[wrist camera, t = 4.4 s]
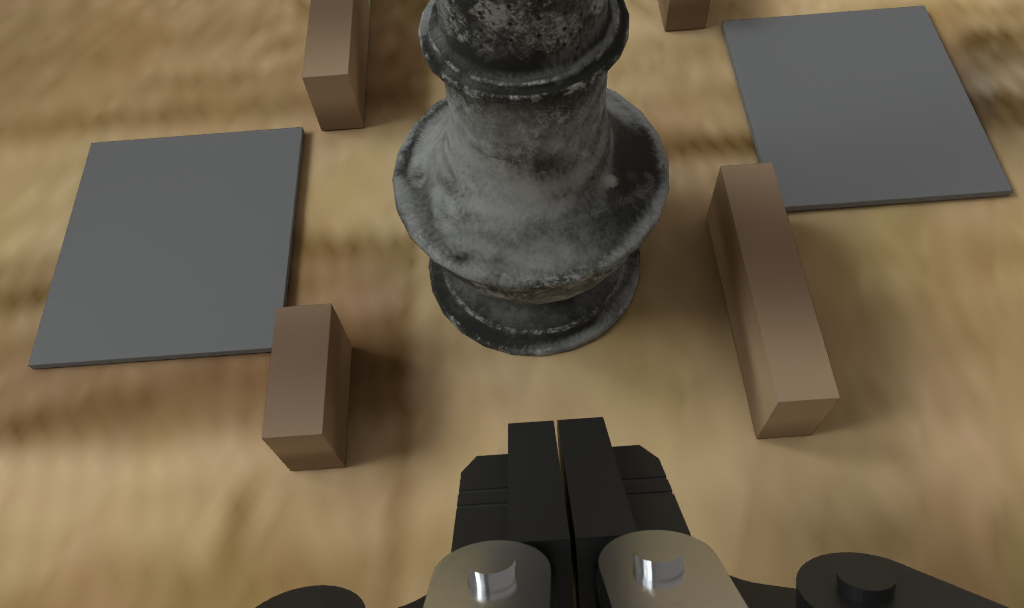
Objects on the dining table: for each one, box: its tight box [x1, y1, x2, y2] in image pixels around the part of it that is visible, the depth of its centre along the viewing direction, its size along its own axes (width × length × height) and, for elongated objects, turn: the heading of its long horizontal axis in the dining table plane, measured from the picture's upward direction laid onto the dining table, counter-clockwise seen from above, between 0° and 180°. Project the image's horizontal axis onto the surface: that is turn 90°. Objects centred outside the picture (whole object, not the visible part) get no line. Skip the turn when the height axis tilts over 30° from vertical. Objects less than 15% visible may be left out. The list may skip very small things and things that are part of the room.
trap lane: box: [262, 0, 840, 471], centre depth 22 cm, size 22×11×3 cm, turn 3°
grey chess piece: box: [393, 0, 669, 356], centre depth 15 cm, size 6×6×12 cm
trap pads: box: [28, 6, 1013, 369], centre depth 21 cm, size 10×24×1 cm, turn 93°
